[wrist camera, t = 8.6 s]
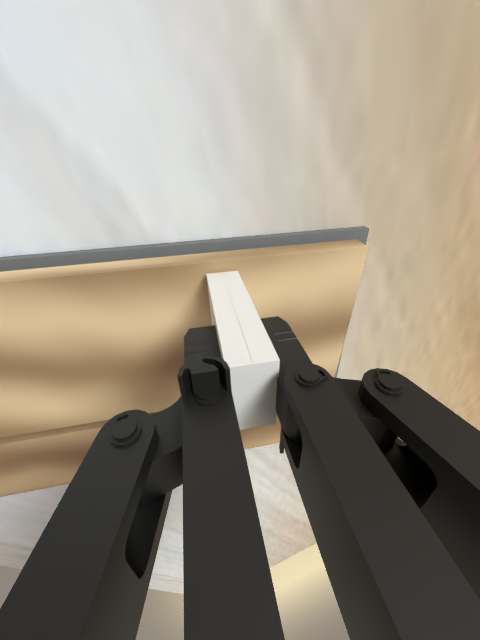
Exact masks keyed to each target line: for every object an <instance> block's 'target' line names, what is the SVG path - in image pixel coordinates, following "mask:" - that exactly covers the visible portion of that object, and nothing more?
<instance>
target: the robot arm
mask: <svg viewBox="0 0 480 640" xmlns="http://www.w3.org/2000/svg"><path fill="white" fill-rule="evenodd" d="M206 276H207V285H208V295H209V304H210V314H211V323H212V326H205V327H197V328H189V330H188V331H187V333H186V335H185V336H184V364H183V366H182V367H181V368H180V369H179V372H178V375H177V378H178V383H179V387H180V392H181V397H180V398H179V399H178V400H177V401H176V402H175V403H174V404H173V405H171V406H170V407H168V408H166V409H164V410H162V411H160V412H158V413H155V414H153V415H150V414H148V413H147V412H146V411H142V410H137V409H136V410H128V411H124V412H122V413H120V414H117V415H115V416H114V417H113V418H111V419H110V420H109V421H107V422H106V423H105V424H104V426H103V427H102V428H101V430H100V431H99V432H98V434H97V436H96V438H95V440H94V441H93V443H92V445H91V447H90V449H89V450H88V452H87V454H86V456H85V458H84V459H83V461H82V463H81V465H80V467H79V468H78V470H77V472H76V474H75V476H74V477H73V479H72V481H71V483H70V485H69V486H68V488H67V490H66V492H65V494H64V495H63V497H62V499H61V501H60V503H59V504H58V506H57V508H56V510H55V512H54V513H53V515H52V517H51V519H50V521H49V522H48V524H47V526H46V528H45V530H44V531H43V533H42V535H41V537H40V539H39V540H38V542H37V544H36V546H35V548H34V549H33V551H32V553H31V555H30V557H29V558H28V560H27V562H26V564H25V566H24V567H23V569H22V571H21V573H20V575H19V576H18V578H17V580H16V582H15V584H14V585H13V587H12V589H11V591H10V593H9V595H8V596H7V598H6V600H5V602H4V603H3V605H2V607H1V609H0V640H135V639H136V635H137V631H138V627H139V623H140V619H141V614H142V611H143V607H144V603H145V599H146V595H147V590H148V587H149V582H150V578H151V574H152V570H153V566H154V562H155V558H156V554H157V550H158V546H159V542H160V538H161V534H162V530H163V526H164V522H165V518H166V514H167V510H168V506H169V502H170V498H171V493H172V490H173V489H174V488H176V487H178V486H180V485H181V484H183V555H184V640H285V639H284V634H283V630H282V625H281V620H280V616H279V611H278V606H277V602H276V597H275V592H274V587H273V583H272V578H271V573H270V569H269V564H268V559H267V555H266V550H265V545H264V541H263V536H262V531H261V527H260V522H259V517H258V513H257V508H256V503H255V499H254V494H253V489H252V484H251V480H250V475H249V470H248V466H247V461H246V456H245V452H244V447H243V442H242V438H241V433H240V430H243V429H248V428H254V427H259V426H265V425H270V424H276V414H277V416H278V418H279V421H280V424H281V432H280V445H279V448H280V454H281V453H284V449H285V451H286V454H287V457H288V460H289V463H290V466H291V469H292V472H293V475H294V478H295V481H296V483H297V486H298V489H299V492H300V495H301V498H302V501H303V504H304V507H305V510H306V513H307V515H308V518H309V521H310V524H311V527H312V530H313V533H314V536H315V539H316V542H317V545H318V547H319V550H320V553H321V556H322V559H323V562H324V565H325V568H326V571H327V574H328V577H329V579H330V582H331V585H332V588H333V591H334V594H335V597H336V600H337V603H338V606H339V608H340V611H341V614H342V617H343V620H344V623H345V626H346V629H347V632H348V635H349V638H350V640H480V431H479V430H477V429H476V428H475V427H473V426H472V425H470V424H469V423H468V422H466V421H465V420H464V419H462V418H461V417H459V416H458V415H457V414H455V413H454V412H453V411H451V410H450V409H448V408H447V407H446V406H444V405H443V404H442V403H440V402H439V401H438V400H436V399H435V398H433V397H432V396H431V395H429V394H428V393H427V392H425V391H424V390H422V389H421V388H420V387H418V386H417V385H416V384H414V383H413V382H411V381H410V380H409V379H407V378H406V377H404V376H402V375H401V374H399V373H397V372H394V371H391V370H388V369H379V368H377V369H372V370H369V371H367V372H366V373H365V374H364V376H363V378H362V381H359V380H349V379H340V378H334V377H332V376H331V375H330V374H329V373H328V372H327V371H326V369H324V368H322V367H320V366H319V365H316V364H313V363H312V361H311V360H310V358H309V357H308V355H307V353H306V352H305V350H304V348H303V347H302V345H301V344H300V342H299V340H298V339H297V337H296V335H295V334H294V332H292V329H291V327H290V326H289V324H288V323H287V322H286V321H285V320H283V319H282V318H280V317H279V316H276V317H268V318H260V317H259V315H258V313H257V310H256V308H255V306H254V304H253V302H252V300H251V298H250V296H249V294H248V291H247V289H246V287H245V285H244V283H243V281H242V279H241V277H240V274H239V272H238V271H229V272H219V273H209V274H206ZM398 437H399V438H400V439H401V440H402V441H401V440H400V439H399V438H398Z"/></svg>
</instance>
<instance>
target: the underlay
mask: <svg viewBox="0 0 480 640" xmlns="http://www.w3.org/2000/svg"><path fill="white" fill-rule="evenodd" d="M368 231H369V228H367V227H364V226H363V227H351V228H340V229H328V230H316V231H304V232H292V233H281V234H269V235H257V236H245V237H233V238H221V239H210V240H198V241H186V242H174V243H162V244H151V245H139V246H127V247H115V248H103V249H92V250H80V251H68V252H56V253H44V254H33V255H21V256H9V257H0V272H2V271H13V270H24V269H35V268H46V267H57V266H68V265H79V264H90V263H101V262H112V261H123V260H134V259H145V258H156V257H167V256H178V255H189V254H199V253H210V252H221V251H232V250H243V249H254V248H265V247H276V246H287V245H298V244H309V243H320V242H331V241H342V240H353V239H357V240H359V241H360V242H362V243H363V244H365V245H366V241H367V236H368ZM343 345H344V344H343ZM342 349H343V348H342ZM341 354H342V352H341ZM340 358H341V356H340ZM339 363H340V359H339ZM339 363H338V367H337V371H336V375H335V378H336V377H337V372H338V368H339Z"/></svg>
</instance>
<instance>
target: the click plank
mask: <svg viewBox="0 0 480 640" xmlns="http://www.w3.org/2000/svg"><path fill="white" fill-rule="evenodd" d="M368 249H369V247H368V246H367V245H365V244H363V243H362V242H360V241H359V240H357V239H353V240H342V241H331V242H320V243H309V244H298V245H287V246H276V247H265V248H254V249H243V250H232V251H221V252H210V253H199V254H189V255H178V256H167V257H156V258H145V259H134V260H123V261H112V262H101V263H90V264H79V265H68V266H57V267H46V268H35V269H24V270H13V271H2V272H0V438H4V437H10V436H16V435H22V434H28V433H34V432H40V431H46V430H52V429H58V428H64V427H70V426H76V425H82V424H88V423H94V422H99V421H105V420H110V419H111V418H113V417H114V416H115V415H117V414H120V413H122V412H124V411H128V410H136V409H137V410H142V411H146V412H147V413H153V412H159V411H162V410H164V409H166V408H168V407H170V406H171V405H173V404H174V403H175V402H176V401H177V400H178V399H179V398H180V397H181V392H180V387H179V383H178V378H177V375H178V372H179V369H180V368H181V367H182V366H183V364H184V336H185V335H186V333H187V331H188V330H189V328H197V327H205V326H212V323H211V314H210V304H209V295H208V285H207V276H206V274H209V273H219V272H229V271H238V272H239V274H240V277H241V279H242V281H243V283H244V285H245V287H246V289H247V291H248V294H249V296H250V298H251V300H252V302H253V304H254V306H255V308H256V310H257V313H258V315H259V317H260V318H268V317H276V316H279V317H280V318H282V319H283V320H285V321H286V322H287V323H288V324H289V326H290V327H291V329H292V332H294V334H295V335H296V337H297V339H298V340H299V342H300V344H301V345H302V347H303V348H304V350H305V352H306V353H307V355H308V357H309V358H310V360H311V361H312V363H313V364H316V365H319V366H320V367H322V368H324V369H326V371H327V372H328V373H329V374H330V375H331V376H332V377H334V378H335V375H336V371H337V367H338V363H339V359H340V356H341V352H342V348H343V344H344V340H345V337H346V333H347V329H348V325H349V321H350V318H351V314H352V310H353V306H354V302H355V299H356V295H357V291H358V287H359V283H360V280H361V276H362V272H363V268H364V264H365V261H366V257H367V253H368Z"/></svg>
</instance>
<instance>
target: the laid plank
mask: <svg viewBox="0 0 480 640" xmlns="http://www.w3.org/2000/svg"><path fill="white" fill-rule="evenodd" d="M159 412H160V411H159ZM155 413H158V412H153V413H148V414H150V415H153V414H155ZM107 421H109V420H105V421H99V422H94V423H88V424H82V425H76V426H70V427H64V428H58V429H52V430H46V431H40V432H34V433H28V434H22V435H16V436H10V437H4V438H0V497H2V496H7V495H12V494H18V493H23V492H28V491H33V490H38V489H43V488H48V487H53V486H59V485H64V484H69V483H71V481H72V479H73V477H74V476H75V474H76V472H77V470H78V468H79V467H80V465H81V463H82V461H83V459H84V458H85V456H86V454H87V452H88V450H89V449H90V447H91V445H92V443H93V441H94V440H95V438H96V436H97V434H98V432H99V431H100V430H101V428H102V427H103V426H104V424H105V423H106V422H107ZM280 432H281V424H280V421H279V418H278V416H277V414H276V424H270V425H265V426H259V427H254V428H248V429H243V430H240V433H241V438H242V442H243V447H244V449H249V448H254V447H259V446H264V445H269V444H274V443H279V442H280Z"/></svg>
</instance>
